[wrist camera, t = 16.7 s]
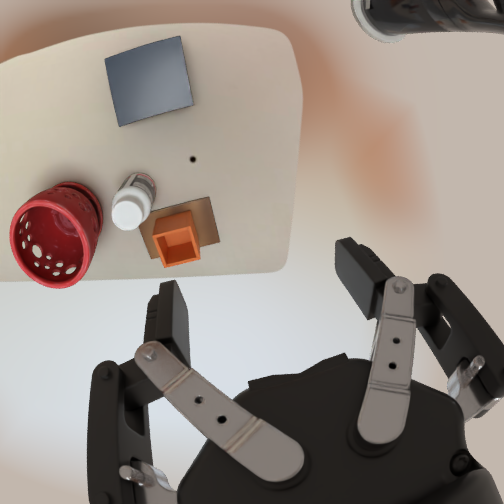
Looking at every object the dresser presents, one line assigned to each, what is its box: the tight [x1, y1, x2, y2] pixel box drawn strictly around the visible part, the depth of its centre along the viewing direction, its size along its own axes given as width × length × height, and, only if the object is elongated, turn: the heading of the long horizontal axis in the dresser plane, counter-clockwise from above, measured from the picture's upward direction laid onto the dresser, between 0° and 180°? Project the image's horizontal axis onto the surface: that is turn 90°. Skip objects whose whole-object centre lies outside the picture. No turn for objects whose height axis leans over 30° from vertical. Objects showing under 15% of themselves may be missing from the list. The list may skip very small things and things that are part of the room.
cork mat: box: [139, 197, 220, 259], centre depth 43 cm, size 12×8×1 cm, turn 99°
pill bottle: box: [112, 173, 156, 231], centre depth 34 cm, size 5×5×10 cm
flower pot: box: [10, 182, 103, 289], centre depth 32 cm, size 13×13×12 cm
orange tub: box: [152, 210, 200, 268], centre depth 40 cm, size 6×6×6 cm
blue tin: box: [105, 36, 194, 127], centre depth 28 cm, size 9×9×6 cm
